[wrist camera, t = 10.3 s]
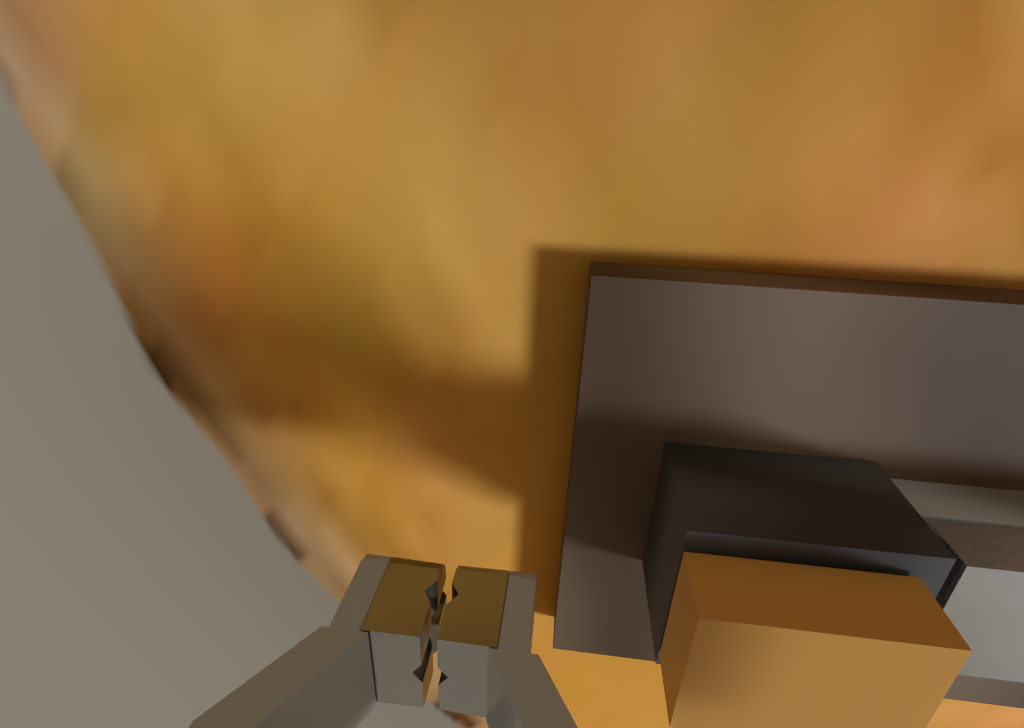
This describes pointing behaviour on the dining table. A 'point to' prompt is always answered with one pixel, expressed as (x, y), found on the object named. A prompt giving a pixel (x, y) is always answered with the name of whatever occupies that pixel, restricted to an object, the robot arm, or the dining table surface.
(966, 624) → the tongs arm
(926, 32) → the dining table surface
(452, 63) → the dining table surface
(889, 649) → the tab
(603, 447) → the board
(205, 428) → the dining table surface
